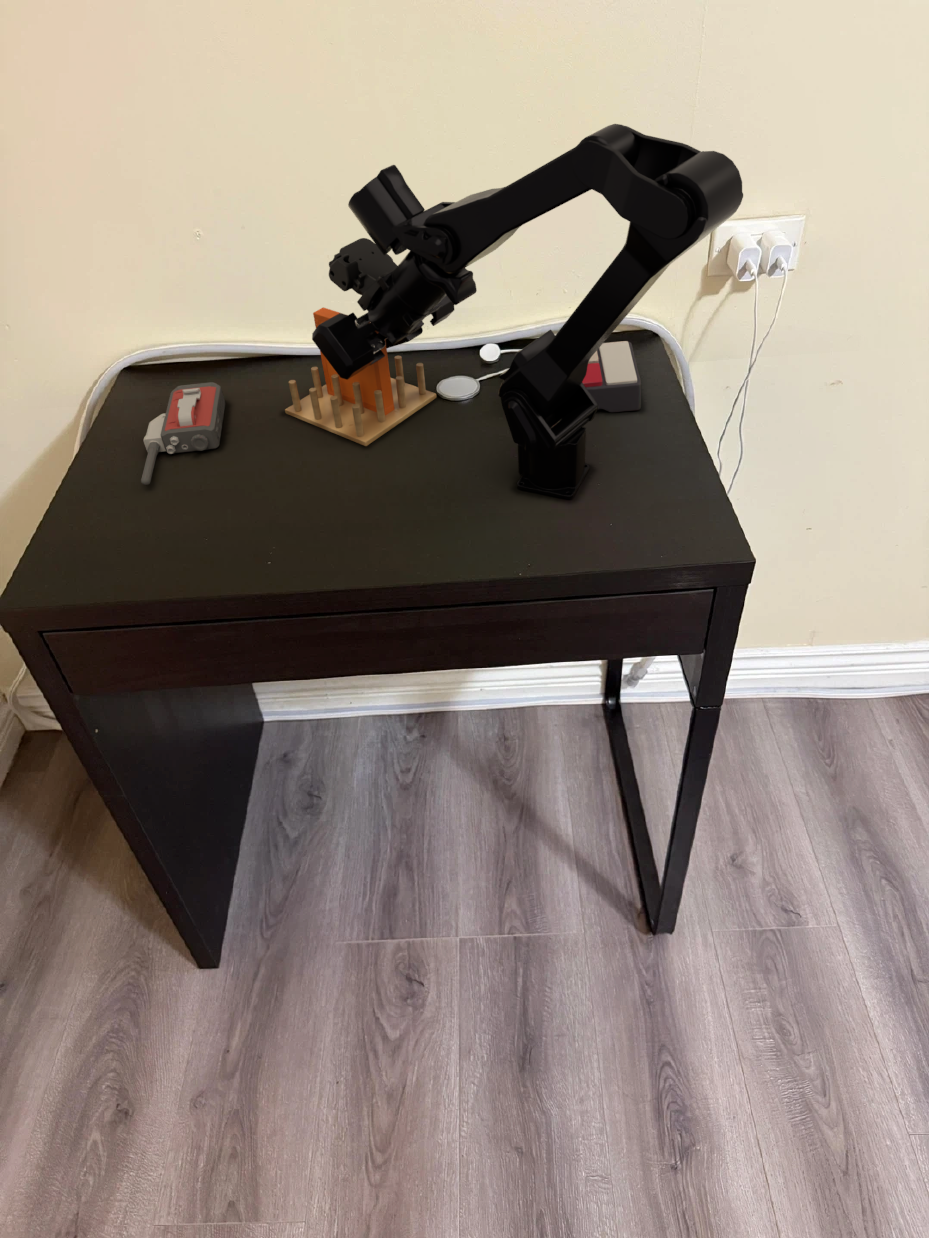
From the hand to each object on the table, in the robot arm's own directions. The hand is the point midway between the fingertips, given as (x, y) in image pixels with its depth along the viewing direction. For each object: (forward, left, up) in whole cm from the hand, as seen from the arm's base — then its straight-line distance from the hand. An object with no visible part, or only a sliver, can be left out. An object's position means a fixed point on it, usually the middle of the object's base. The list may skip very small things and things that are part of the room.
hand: (356, 355), depth 110 cm
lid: (+1, 0, -6) cm, 7 cm away
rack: (+1, 0, -7) cm, 7 cm away
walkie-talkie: (+17, +15, -7) cm, 24 cm away
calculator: (-24, -12, -7) cm, 28 cm away
